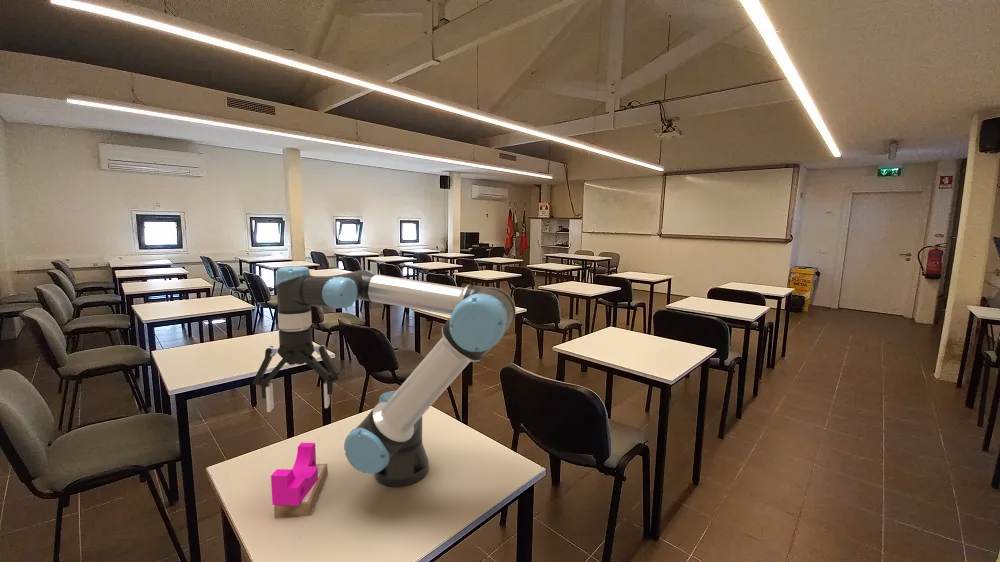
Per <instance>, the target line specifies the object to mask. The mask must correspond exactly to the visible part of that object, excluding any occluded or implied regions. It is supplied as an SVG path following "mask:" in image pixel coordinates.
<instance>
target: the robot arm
mask: <svg viewBox="0 0 1000 562" xmlns="http://www.w3.org/2000/svg"><path fill="white" fill-rule="evenodd" d="M275 272H276V273H275V274H276V276H275V277H276V278H275V287H276V288H275V291H276V299H277V320H278V321H277V325H278V328H279V331H278V341H279V342H278V343H279V347H274V346H272V345H270V346H269V347H267V348H266V349H265V352H264V359H263V360H262V363H261V365H260V366H259V368H258V371H257V373H256V375H255V377H254V379H253V380H252V385H253V386H260V387H261V397H262V399H265V400H266V412H267V413H270V412H272V411H273V409H274V408H275V405H274V404H275V403H274V387H273V385H274V384H273V383H272V382H271V381H272V380H273V378H274V377H275V376H276V375H277V374H278V372H279V371H280V370H281V369H282V368H283V367H284V366H285V365H286V364H288V365H289V366H293V365H304V364H306V365H307V366H309V367H310V368H312V369H313V370H314V372H315V373H317V375H318V376H320V377H321V378H322V379H323V380H324V381H325V382H324V383H323V401H324V402H323V403H324V409H328V408H329V406H330V403H331V401H330V395H333V392H334V382H337V381H339V379H340V377H341V373H340V371H339V369H338V368H337V366H336V365H335V363H334V362H333V359H332V358H331V356H330V354H329V353H328V350H327V345H326V344H325V343H323V344H321V345H314V344H313V343H314V342H313V328H312V327H311V326H312V325H313V324H312V320H313V319H312V307H318V308H319V307H320V308H329V309H330V308H332V309H335V310H336V309H337V310H338V309H348V308H351V307H352V306H353V304H354V303H355V302H356V301H357V300H358V301H359V300H362V301H367V302H374V303H380V304H384V305H390V306H391V305H392V306H398V307H403V308H409V309H414V310H420V311H425V312H426V311H427V312H432V313H436V314H441V315H442V314H443V315H449V316H450V317H449V319H448V320H447V321H446V322H445V323H444V324H443V326H442V327H441V334H442V337H441V338H440V340H438V341H437V342H436V344H435V345H434V346H433V348H432V349H431V350H430V351H429V352H428V353H427V354H426V356H425V357H424V358H423V360H421V362H420V363H419V364H418V365H417V366H416V367H415V369H414V370H413V371H412V372H411V373H410V374H409V376H407V378H406V380H405V379H404V382H402V384H401V385H400V386H399V387H398V389H397V390H390V391H386V392H384V393H382V394H381V395H380V396H379V399H378V403H377V404H376V405H375V406H374V407H373V408H372V410H371V411H370V412H369V413H368V414H367V416H366V417H365V418H363V420H362V421H361V422H360V423H359V424H358V426H356V427H355V428H353V429H352V430H350V432H349V433H348V434H347V436H346V438H345V439H344V444H343V448H344V452H345V457H346V458H347V460H348V462H349V464H350V465H351V466H352V467H353V468H354V469H356V470H357V471H359V472H360V473H362V474H369V475H374V478H375V480H376V481H377V482H378V483H380V484H381V485H383V486H387V487H395V488H396V487H398V488H399V487H406V486H410V485H413V484H416V483H418V482H419V481H421V480H422V479H424V478H425V477H426V475H427V474H428V472H429V469H430V467H429V466H430V465H429V458H428V455H427V451H426V449H425V446H424V444H423V415H424V414H425V413H426V412H427V411H428V410H429V409H430V408H431V406H432V405H434V403H435V402H436V401H437V400H438V398H439V397H440V396H441V395H442V394H443V393H444V392H445V391H446V390H447V388H449V386H450V385H451V384H452V383H453V382H454V381H455V380H456V378H458V376H459V375H460V374H461V373H462V372H463V370H464V369H465V368H466V367H467V366H469V364H470V363H471V362H480V361H481V360H482V359H483V358H484V357H485V356H486V355H487V354H488V353H489V351H491V349H493V347H495V346H496V345H498V343H499V342H500V341H501V340H502V339H503V337H504V336H505V333H506V332H507V331H508V330H509V329H510V327H511V326H512V325H513V324H514V321H515V318H516V313H517V311H516V305H515V301H514V300H513V298H512V296H511V295H510V294H509V293H508V292H507V291H505V290H504V289H501V288H498V287H493V286H482V285H473V284H468V285H466V286H465V287H460V286H455V285H447V284H441V283H435V282H430V281H428V282H427V281H423V280H416V279H410V278H409V279H408V278H403V277H395V276H390V275H383V274H375V272H373V271H371V270H364V269H363V270H362V269H359V270H356V271H351V272H347V273H342V274H336V275H328V276H327V275H326V276H324V275H323V276H322V275H320V276H319V275H317V276H316V275H311V272H310V268H309V267H307V266H303V265H302V266H297V265H296V266H294V265H292V266H281V267H278V269H276V271H275ZM314 352H316V354H317V355H319V356H320V359H321V360H322V362H323V363H324V365H325V367H326V368H327V369H326V368H325V367H324V366H323V365H321V363H320V362H319V361H318V360H317V359H316V357H315V356H314V355H313V353H314ZM276 354H278V355H279V356H280V358H281V360H280V361H279V362H278V363H277V365H276V366H274V368H273V369H272V370H271V372H269V374H268V375H267V376H266V377H265V378H263V377H264V375H265V373H266V371H267V370H268V367H269V366H270V364H271V361H272V359H273V357H275V356H276ZM270 382H271V383H270Z"/></svg>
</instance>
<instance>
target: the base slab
mask: <svg viewBox="0 0 1000 562" xmlns="http://www.w3.org/2000/svg"><path fill="white" fill-rule="evenodd" d="M316 467H317V469H318V480H317V481H316V482H315V484H314V485H313V487H312V488H311V489H310V491H309V492H308V493H307V495H306V496H305V498H304V499H303V500H302V502H301V503H300V504H299V505H273V510H274V511H273V513H274V514H273V515H274V519H281V518H283V519H285V518H293V517H302V516H303V517H304V516H311V514H312V512H313V510H314V507H315V504H316V502H317V500H318V499H319V495H320V493H321V490H322V488H323V486H324V483H325V481H326V478H327V476H328V468H329V467H328V463H319V464H318V463H316Z"/></svg>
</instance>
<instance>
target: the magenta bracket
mask: <svg viewBox="0 0 1000 562" xmlns="http://www.w3.org/2000/svg"><path fill="white" fill-rule="evenodd" d="M316 464H317V455H316V442H301V443H299V445H298V446H297V453H296V457H295V461H294V464H293V467H292V469H290V468H289V469H285V468H281V469H280V468H276V469H275V470H274V472H272V474H271V475H270V483H271V484H270V485H271V486H270V487H271V500H272V503H271V504H272V506H275V505H299V504H300V503H301V502H302V500H303V499H304V498H305V496H306V495H307V493H308V492H309V491H310V489H311V488H312V487H313V485H314V484H315V482H316V481H317V480H318V469H317V467H316Z"/></svg>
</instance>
